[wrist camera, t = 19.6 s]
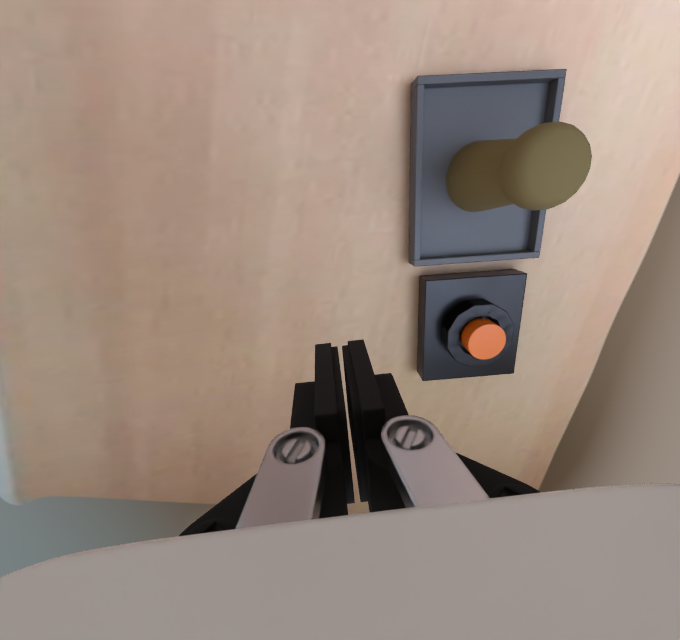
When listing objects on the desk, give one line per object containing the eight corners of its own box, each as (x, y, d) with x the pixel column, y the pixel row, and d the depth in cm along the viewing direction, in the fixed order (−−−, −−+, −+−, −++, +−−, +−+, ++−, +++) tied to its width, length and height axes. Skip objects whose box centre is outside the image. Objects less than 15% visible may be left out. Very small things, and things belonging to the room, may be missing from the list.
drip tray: (410, 83, 28) (417, 75, 26) (550, 77, 29) (567, 68, 27) (408, 262, 33) (414, 266, 32) (527, 254, 34) (539, 257, 32)
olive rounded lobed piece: (523, 156, 30) (631, 132, 20) (490, 221, 32) (574, 232, 21) (464, 128, 29) (546, 88, 19) (434, 198, 31) (494, 196, 20)
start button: (461, 319, 32) (469, 325, 30) (498, 316, 32) (508, 322, 30) (459, 353, 33) (466, 361, 32) (494, 350, 33) (504, 358, 32)
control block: (419, 275, 34) (431, 285, 30) (514, 268, 34) (539, 277, 31) (416, 371, 38) (427, 390, 34) (503, 364, 38) (523, 382, 34)
